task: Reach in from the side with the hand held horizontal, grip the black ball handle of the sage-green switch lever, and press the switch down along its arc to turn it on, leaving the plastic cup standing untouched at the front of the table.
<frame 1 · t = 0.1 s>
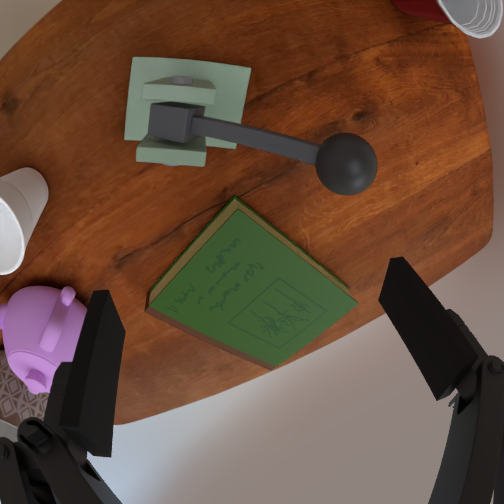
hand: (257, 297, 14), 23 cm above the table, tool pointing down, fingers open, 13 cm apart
cup: (30, 188, 31), on the table
switch lever: (258, 138, 18), point 16 cm above the table, hinge at 28.0°
book: (255, 292, 45), on the table
teapot: (46, 309, 42), on the table
planter: (26, 372, 50), on the table
switch bracket: (185, 100, 29), on the table
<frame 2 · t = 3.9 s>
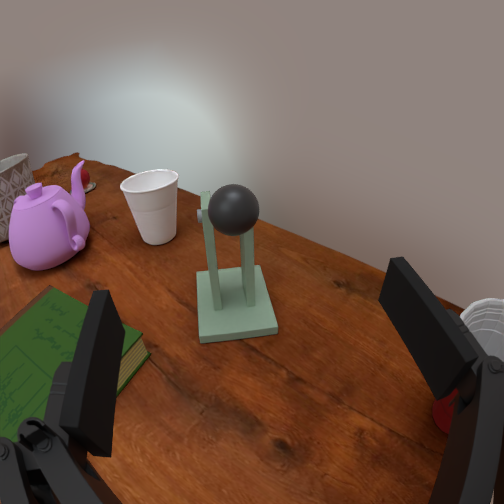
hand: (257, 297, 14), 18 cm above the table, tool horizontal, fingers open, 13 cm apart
apple: (83, 190, 77), on the table
cup: (159, 237, 54), on the table
switch lever: (229, 211, 27), point 16 cm above the table, hinge at 28.0°
book: (37, 392, 27), on the table
teapot: (62, 245, 53), on the table
planter: (13, 229, 61), on the table
plastic cup: (451, 414, 24), on the table
switch bracket: (233, 304, 40), on the table
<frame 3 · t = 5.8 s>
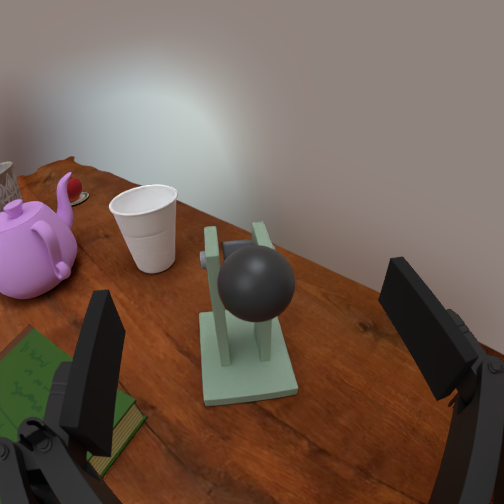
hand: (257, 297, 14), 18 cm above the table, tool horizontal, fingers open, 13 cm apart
apple: (75, 201, 70), on the table
cup: (156, 263, 47), on the table
switch lever: (244, 267, 20), point 16 cm above the table, hinge at 28.0°
book: (21, 452, 20), on the table
teapot: (48, 268, 46), on the table
switch bracket: (243, 354, 33), on the table
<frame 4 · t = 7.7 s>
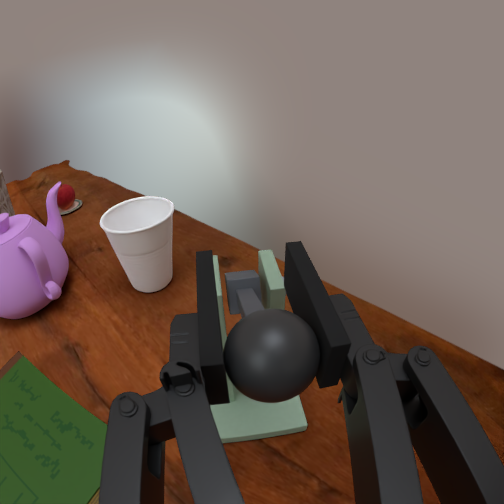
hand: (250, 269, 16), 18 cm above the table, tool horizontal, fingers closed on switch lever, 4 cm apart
apple: (68, 209, 66), on the table
cup: (152, 281, 44), on the table
switch lever: (253, 314, 16), point 16 cm above the table, hinge at 28.0°, touching gripper
book: (17, 486, 16), on the table
teapot: (39, 284, 43), on the table
switch bracket: (248, 386, 29), on the table
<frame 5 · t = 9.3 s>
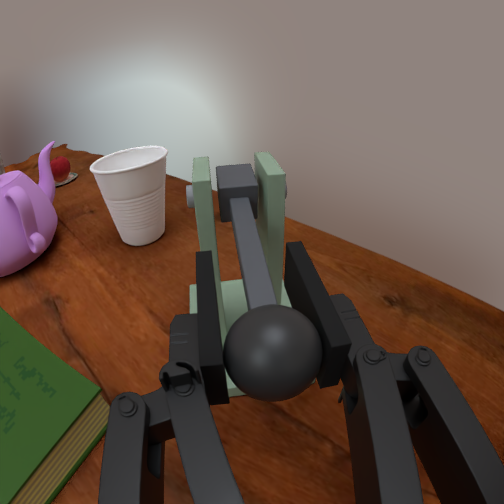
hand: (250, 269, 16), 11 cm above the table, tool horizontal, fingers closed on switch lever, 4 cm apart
apple: (62, 182, 63), on the table
cup: (143, 236, 41), on the table
switch lever: (250, 254, 15), point 12 cm above the table, hinge at -8.2°, touching gripper
teapot: (27, 246, 40), on the table
switch bracket: (244, 334, 26), on the table
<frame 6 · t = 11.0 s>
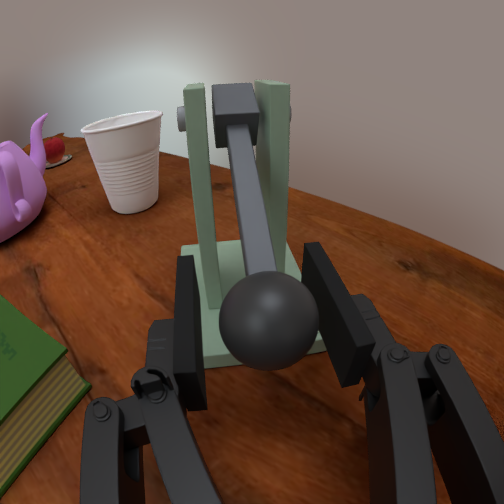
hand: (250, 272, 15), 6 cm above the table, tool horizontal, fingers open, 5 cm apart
apple: (57, 163, 60), on the table
cup: (135, 205, 37), on the table
switch lever: (248, 198, 13), point 10 cm above the table, hinge at -30.5°
teapot: (14, 220, 36), on the table
switch bracket: (242, 297, 23), on the table
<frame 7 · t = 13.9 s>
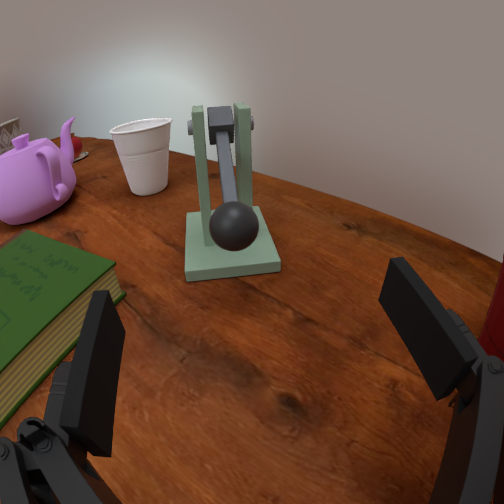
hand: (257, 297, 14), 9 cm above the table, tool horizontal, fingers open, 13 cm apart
apple: (75, 159, 71), on the table
cup: (149, 189, 49), on the table
switch lever: (226, 170, 25), point 10 cm above the table, hinge at -30.5°
teapot: (47, 203, 48), on the table
planter: (0, 196, 55), on the table
plastic cup: (497, 363, 19), on the table
switch bracket: (227, 243, 34), on the table
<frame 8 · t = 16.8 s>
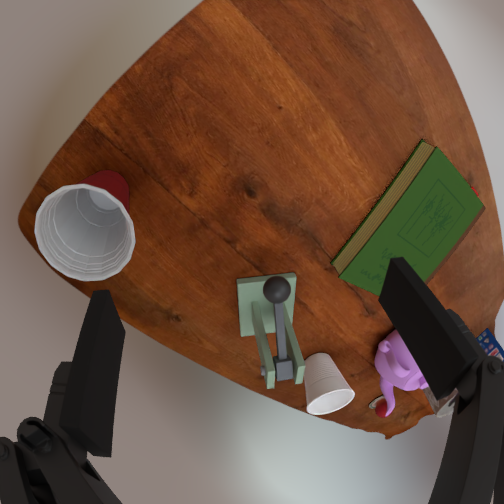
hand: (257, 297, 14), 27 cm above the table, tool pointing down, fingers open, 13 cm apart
apple: (379, 399, 84), on the table
cup: (315, 359, 63), on the table
switch lever: (280, 328, 40), point 10 cm above the table, hinge at -30.5°
book: (411, 225, 47), on the table
teapot: (395, 345, 67), on the table
planter: (439, 354, 76), on the table
plastic cup: (110, 189, 37), on the table
switch bracket: (265, 303, 51), on the table
pasta box: (483, 347, 83), on the table
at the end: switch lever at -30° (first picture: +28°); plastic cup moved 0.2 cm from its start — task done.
